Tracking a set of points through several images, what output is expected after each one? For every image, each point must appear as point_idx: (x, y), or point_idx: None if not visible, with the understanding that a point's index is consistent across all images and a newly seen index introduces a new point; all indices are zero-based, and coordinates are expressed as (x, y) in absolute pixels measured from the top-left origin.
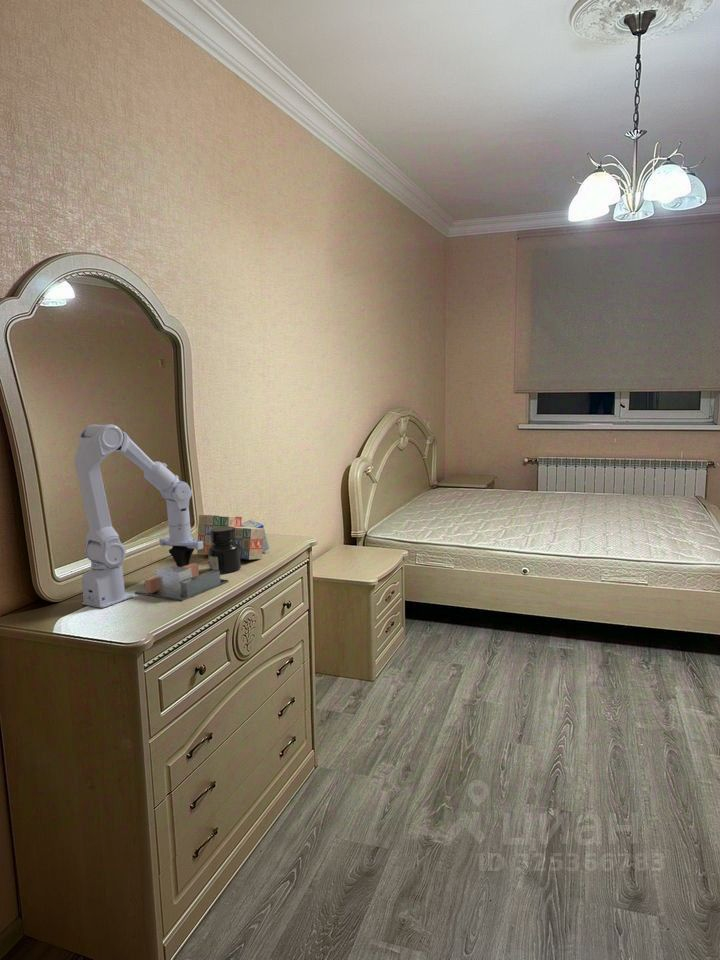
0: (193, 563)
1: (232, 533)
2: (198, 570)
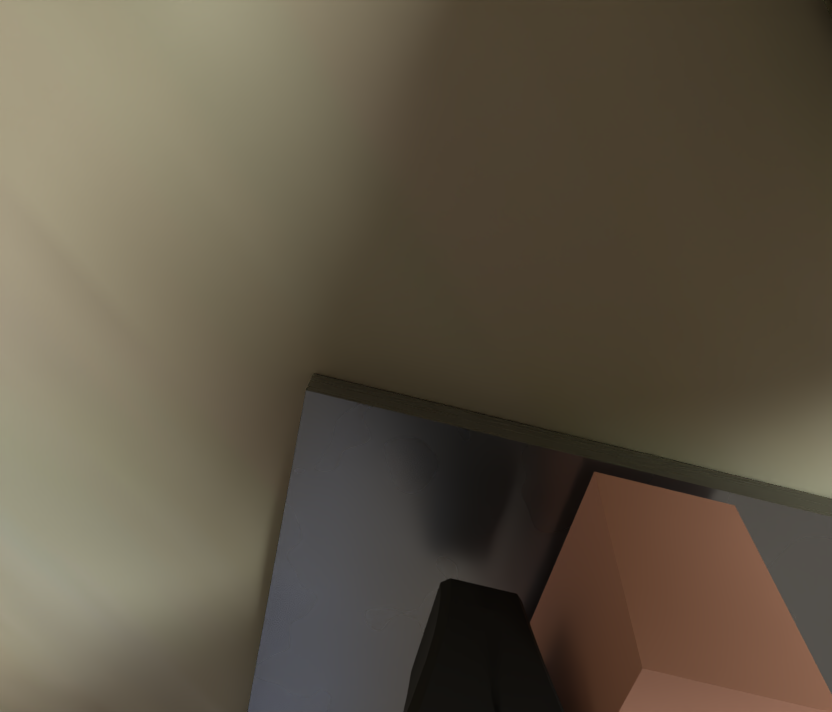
0: (684, 693)
1: None
2: (770, 579)
